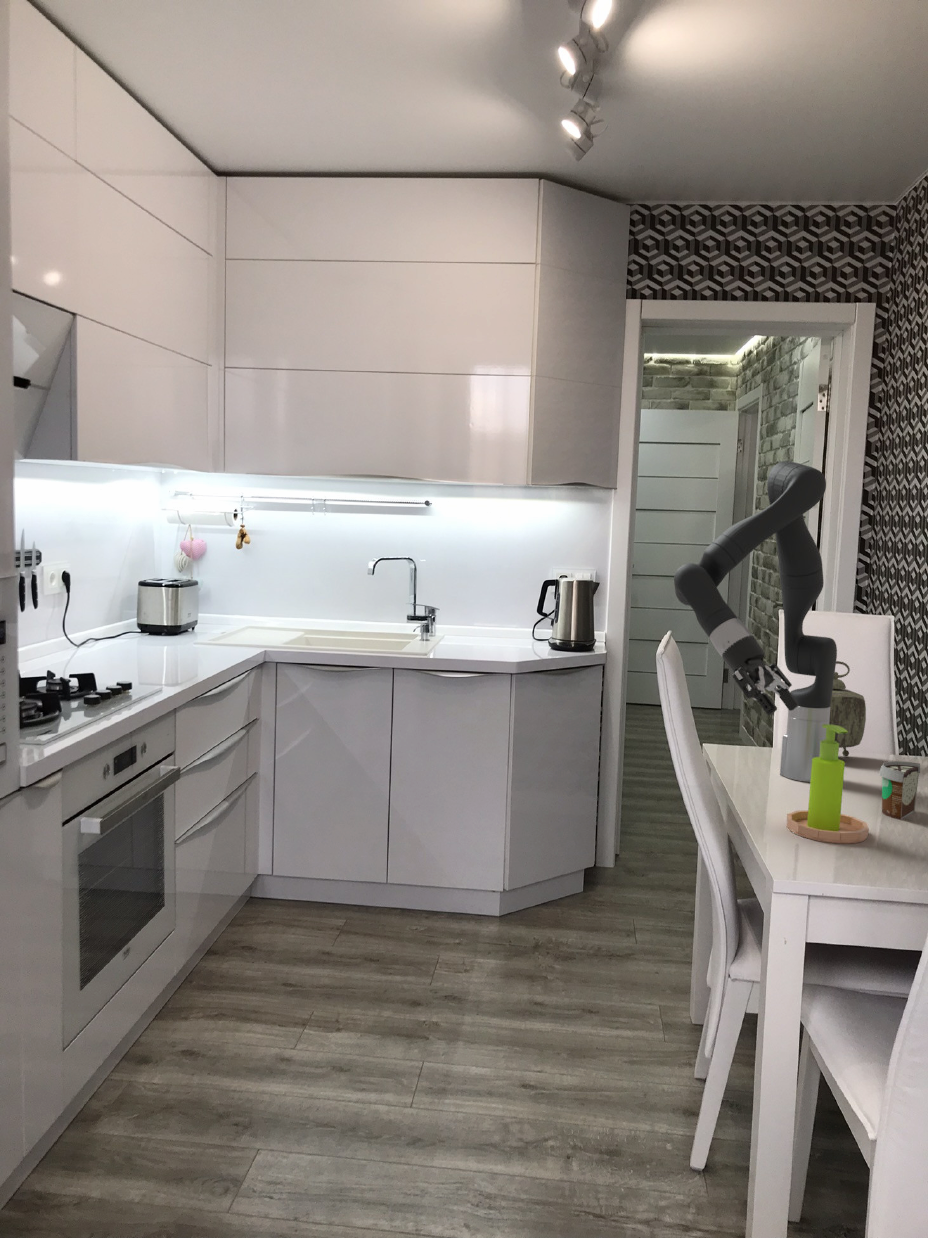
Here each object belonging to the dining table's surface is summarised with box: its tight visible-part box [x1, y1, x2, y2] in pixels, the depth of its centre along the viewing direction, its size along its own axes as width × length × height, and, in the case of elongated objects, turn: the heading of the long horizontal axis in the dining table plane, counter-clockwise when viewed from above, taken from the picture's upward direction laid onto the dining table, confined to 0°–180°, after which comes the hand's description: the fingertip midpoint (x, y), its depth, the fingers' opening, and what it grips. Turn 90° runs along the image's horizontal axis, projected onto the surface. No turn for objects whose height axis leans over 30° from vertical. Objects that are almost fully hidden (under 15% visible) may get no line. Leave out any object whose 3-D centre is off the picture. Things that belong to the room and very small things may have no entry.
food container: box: [878, 760, 921, 821], centre depth 213 cm, size 12×6×10 cm, turn 141°
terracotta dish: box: [786, 809, 870, 844], centre depth 197 cm, size 15×15×2 cm
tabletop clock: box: [829, 660, 867, 757], centre depth 260 cm, size 14×9×25 cm, turn 94°
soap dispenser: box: [807, 724, 848, 831], centre depth 196 cm, size 6×7×20 cm
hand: (784, 710), depth 203 cm, fingers open, 8 cm apart
